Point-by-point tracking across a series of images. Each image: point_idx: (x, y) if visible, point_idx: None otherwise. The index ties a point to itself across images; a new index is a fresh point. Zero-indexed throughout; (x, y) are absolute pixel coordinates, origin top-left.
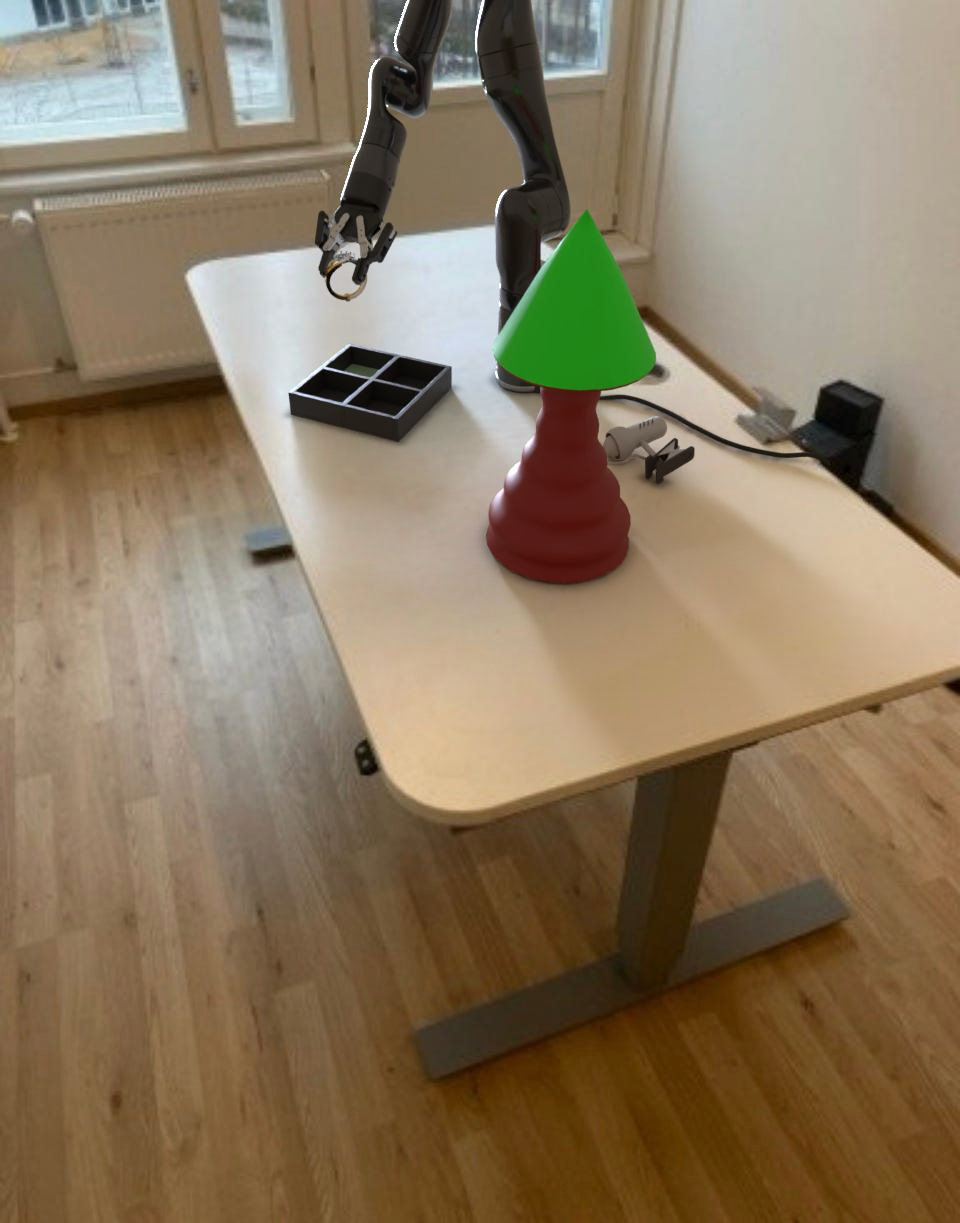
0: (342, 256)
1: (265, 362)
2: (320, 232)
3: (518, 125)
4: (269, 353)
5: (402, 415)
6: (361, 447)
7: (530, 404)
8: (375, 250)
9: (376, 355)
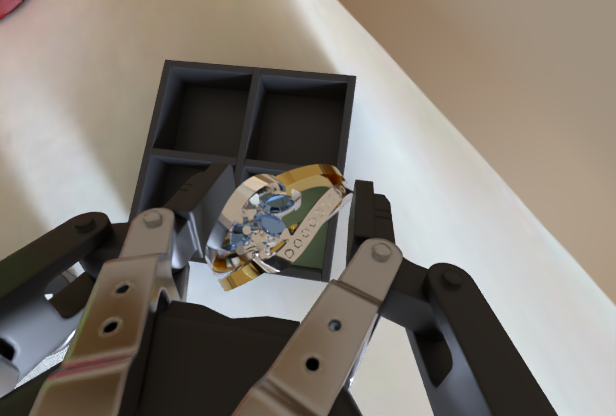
0: (276, 217)
1: (476, 241)
2: (474, 340)
3: None
4: (488, 276)
5: (162, 74)
6: (227, 55)
7: (30, 238)
8: (75, 232)
9: None
